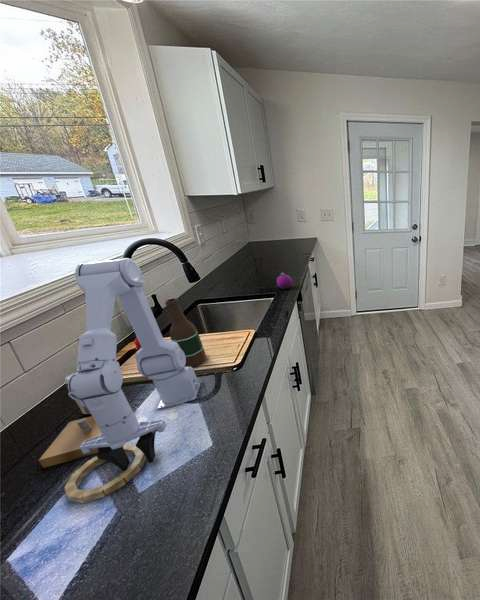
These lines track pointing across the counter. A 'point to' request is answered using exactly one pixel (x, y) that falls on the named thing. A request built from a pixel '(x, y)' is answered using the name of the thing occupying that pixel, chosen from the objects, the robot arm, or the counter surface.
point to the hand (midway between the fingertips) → (139, 462)
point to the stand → (71, 442)
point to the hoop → (99, 492)
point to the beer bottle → (185, 335)
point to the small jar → (83, 409)
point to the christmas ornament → (284, 281)
